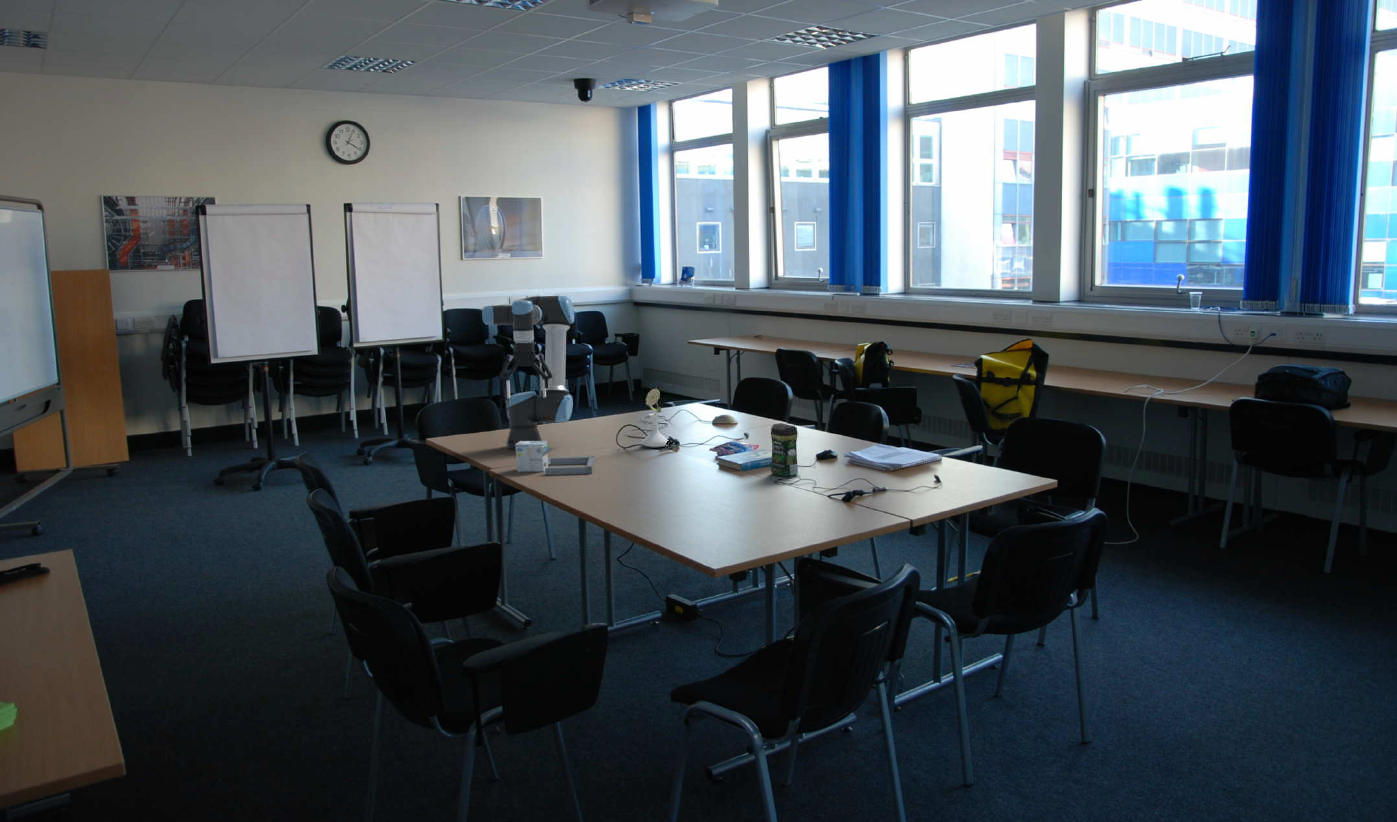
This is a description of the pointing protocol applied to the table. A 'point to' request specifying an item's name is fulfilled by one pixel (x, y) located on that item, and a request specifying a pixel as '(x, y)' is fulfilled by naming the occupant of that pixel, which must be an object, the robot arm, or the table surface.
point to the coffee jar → (784, 450)
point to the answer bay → (571, 470)
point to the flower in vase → (654, 422)
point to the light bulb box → (531, 456)
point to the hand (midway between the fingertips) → (526, 397)
